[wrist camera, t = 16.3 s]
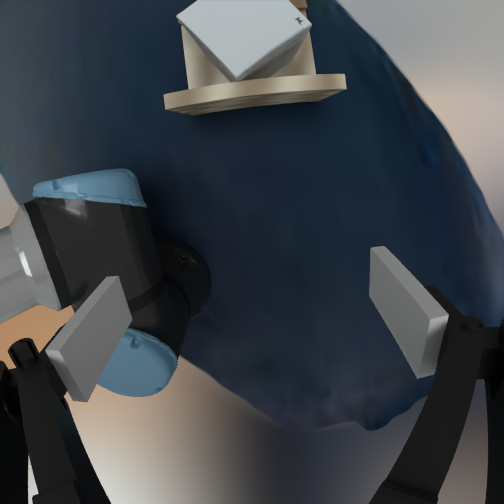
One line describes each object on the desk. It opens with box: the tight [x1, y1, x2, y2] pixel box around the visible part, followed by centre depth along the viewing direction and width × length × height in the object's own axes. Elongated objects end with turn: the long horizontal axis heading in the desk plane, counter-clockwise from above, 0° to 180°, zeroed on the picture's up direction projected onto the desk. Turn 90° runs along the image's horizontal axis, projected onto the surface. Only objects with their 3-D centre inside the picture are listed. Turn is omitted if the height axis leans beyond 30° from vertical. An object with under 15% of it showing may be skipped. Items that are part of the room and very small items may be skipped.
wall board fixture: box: [164, 0, 346, 116], centre depth 33 cm, size 18×16×15 cm
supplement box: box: [176, 0, 312, 82], centre depth 31 cm, size 10×9×17 cm
